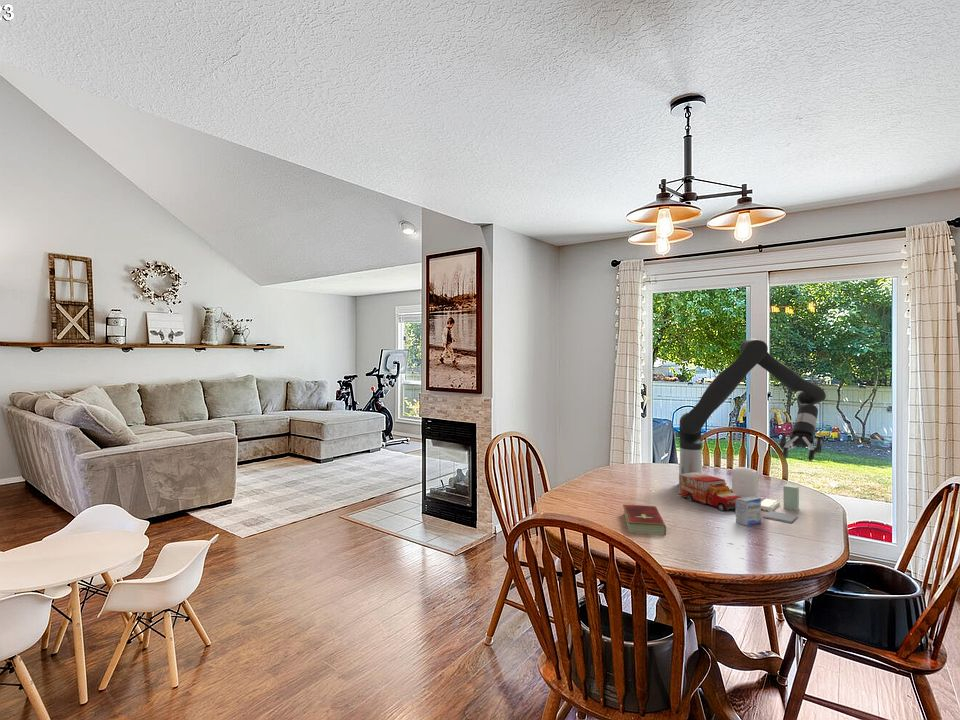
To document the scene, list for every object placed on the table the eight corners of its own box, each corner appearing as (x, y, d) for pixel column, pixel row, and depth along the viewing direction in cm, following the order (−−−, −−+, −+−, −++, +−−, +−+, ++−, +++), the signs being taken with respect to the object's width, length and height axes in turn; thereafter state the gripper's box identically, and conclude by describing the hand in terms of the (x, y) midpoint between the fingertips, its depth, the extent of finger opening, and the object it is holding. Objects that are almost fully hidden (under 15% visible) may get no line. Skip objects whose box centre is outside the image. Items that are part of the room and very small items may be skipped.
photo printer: (730, 495, 211) (730, 466, 211) (734, 493, 214) (734, 465, 214) (755, 500, 203) (755, 470, 203) (760, 498, 206) (760, 469, 206)
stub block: (783, 507, 193) (783, 486, 193) (785, 506, 195) (785, 484, 195) (797, 510, 190) (796, 488, 190) (798, 508, 192) (798, 486, 192)
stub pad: (763, 517, 181) (763, 516, 181) (770, 512, 187) (770, 510, 187) (791, 523, 175) (791, 521, 175) (797, 517, 181) (797, 515, 181)
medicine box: (747, 526, 171) (747, 501, 171) (735, 522, 175) (735, 498, 175) (761, 523, 175) (761, 498, 175) (749, 519, 179) (749, 495, 179)
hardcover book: (656, 516, 183) (656, 505, 183) (666, 536, 163) (666, 523, 163) (623, 514, 186) (623, 503, 186) (628, 534, 165) (628, 521, 165)
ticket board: (757, 508, 192) (757, 504, 192) (765, 502, 200) (765, 498, 200) (771, 511, 188) (771, 507, 188) (780, 504, 197) (780, 500, 197)
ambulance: (725, 514, 186) (725, 487, 186) (677, 497, 209) (677, 473, 209) (746, 510, 190) (746, 484, 190) (697, 494, 213) (697, 471, 213)
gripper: (783, 419, 211) (775, 450, 203) (822, 421, 200) (816, 454, 192) (787, 430, 214) (780, 461, 206) (826, 433, 204) (820, 466, 196)
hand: (797, 458), depth 199 cm, fingers open, 8 cm apart
